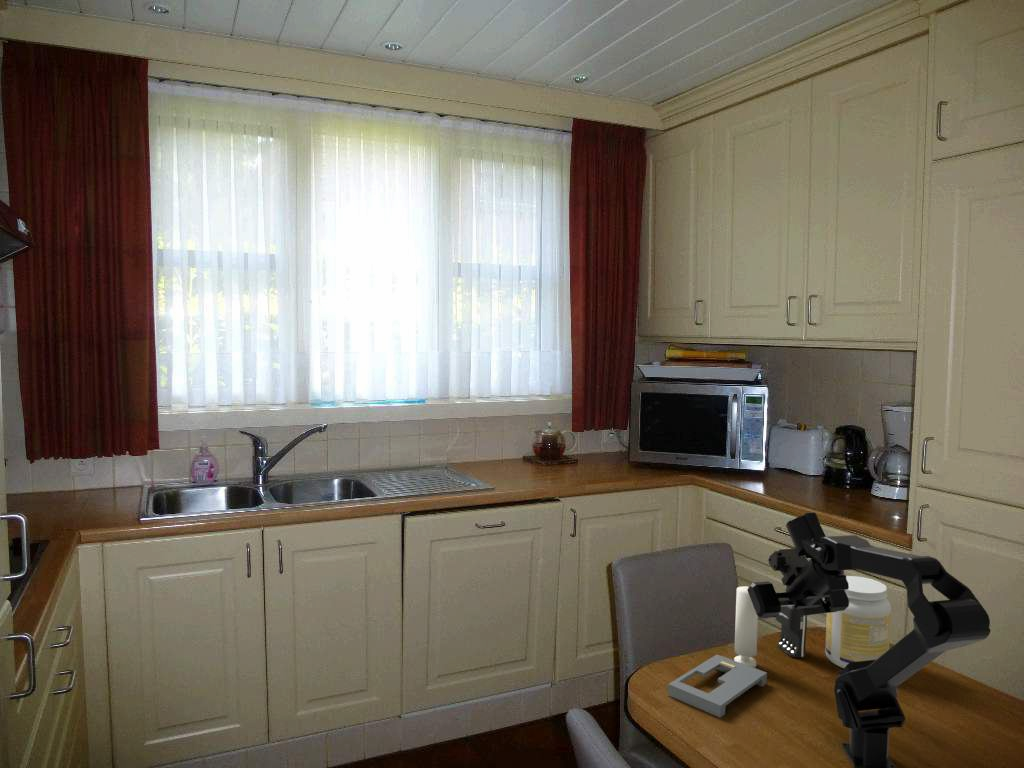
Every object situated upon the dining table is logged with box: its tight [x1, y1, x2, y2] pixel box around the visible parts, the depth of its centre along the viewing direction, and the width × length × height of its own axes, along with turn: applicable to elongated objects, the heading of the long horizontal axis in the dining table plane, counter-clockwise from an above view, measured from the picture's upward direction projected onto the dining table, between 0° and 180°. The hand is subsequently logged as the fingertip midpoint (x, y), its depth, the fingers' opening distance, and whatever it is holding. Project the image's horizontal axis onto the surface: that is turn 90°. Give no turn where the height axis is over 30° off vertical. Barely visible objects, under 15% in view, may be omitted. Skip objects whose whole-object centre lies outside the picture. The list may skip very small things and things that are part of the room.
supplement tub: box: [824, 575, 892, 669], centre depth 155 cm, size 12×12×17 cm
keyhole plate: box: [667, 654, 768, 719], centre depth 144 cm, size 18×11×2 cm, turn 135°
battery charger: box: [775, 605, 808, 658], centre depth 160 cm, size 7×4×11 cm, turn 13°
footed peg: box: [733, 585, 759, 668], centre depth 154 cm, size 4×4×16 cm
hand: (780, 615), depth 146 cm, fingers open, 9 cm apart
